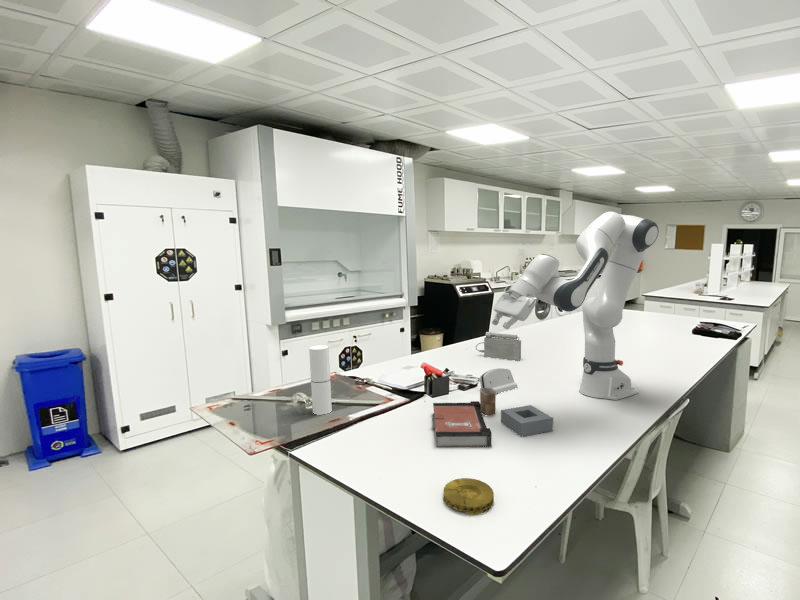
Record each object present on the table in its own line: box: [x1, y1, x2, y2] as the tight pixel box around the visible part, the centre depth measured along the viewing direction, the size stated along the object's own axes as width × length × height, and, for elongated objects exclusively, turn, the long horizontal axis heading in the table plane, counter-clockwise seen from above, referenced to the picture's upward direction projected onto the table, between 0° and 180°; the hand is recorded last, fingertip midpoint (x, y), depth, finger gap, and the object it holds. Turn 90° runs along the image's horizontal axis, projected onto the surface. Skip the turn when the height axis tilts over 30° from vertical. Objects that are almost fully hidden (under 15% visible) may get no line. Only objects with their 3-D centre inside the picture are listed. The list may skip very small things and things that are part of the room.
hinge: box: [479, 367, 519, 395], centre depth 179 cm, size 17×5×10 cm, turn 122°
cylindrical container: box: [308, 344, 333, 416], centre depth 158 cm, size 7×7×25 cm
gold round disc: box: [443, 477, 495, 515], centre depth 102 cm, size 12×12×2 cm
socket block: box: [500, 404, 554, 438], centre depth 142 cm, size 12×12×4 cm
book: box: [431, 400, 493, 448], centre depth 142 cm, size 26×18×5 cm
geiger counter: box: [475, 331, 522, 362], centre depth 228 cm, size 14×6×25 cm
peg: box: [479, 387, 497, 416], centre depth 154 cm, size 4×4×9 cm
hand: (499, 326), depth 144 cm, fingers open, 8 cm apart
